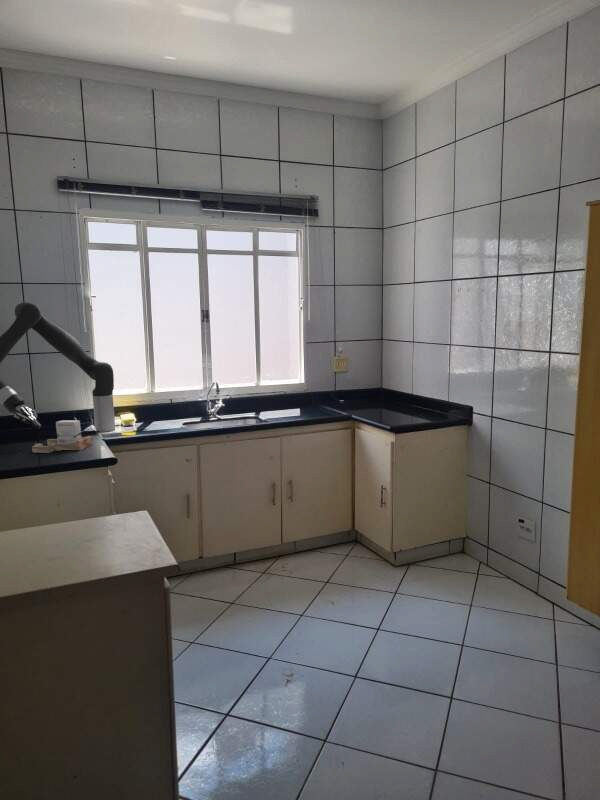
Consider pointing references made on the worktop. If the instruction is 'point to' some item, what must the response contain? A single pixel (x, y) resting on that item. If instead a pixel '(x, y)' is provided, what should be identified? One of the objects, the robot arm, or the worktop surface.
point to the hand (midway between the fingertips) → (39, 427)
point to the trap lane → (62, 445)
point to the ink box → (68, 431)
